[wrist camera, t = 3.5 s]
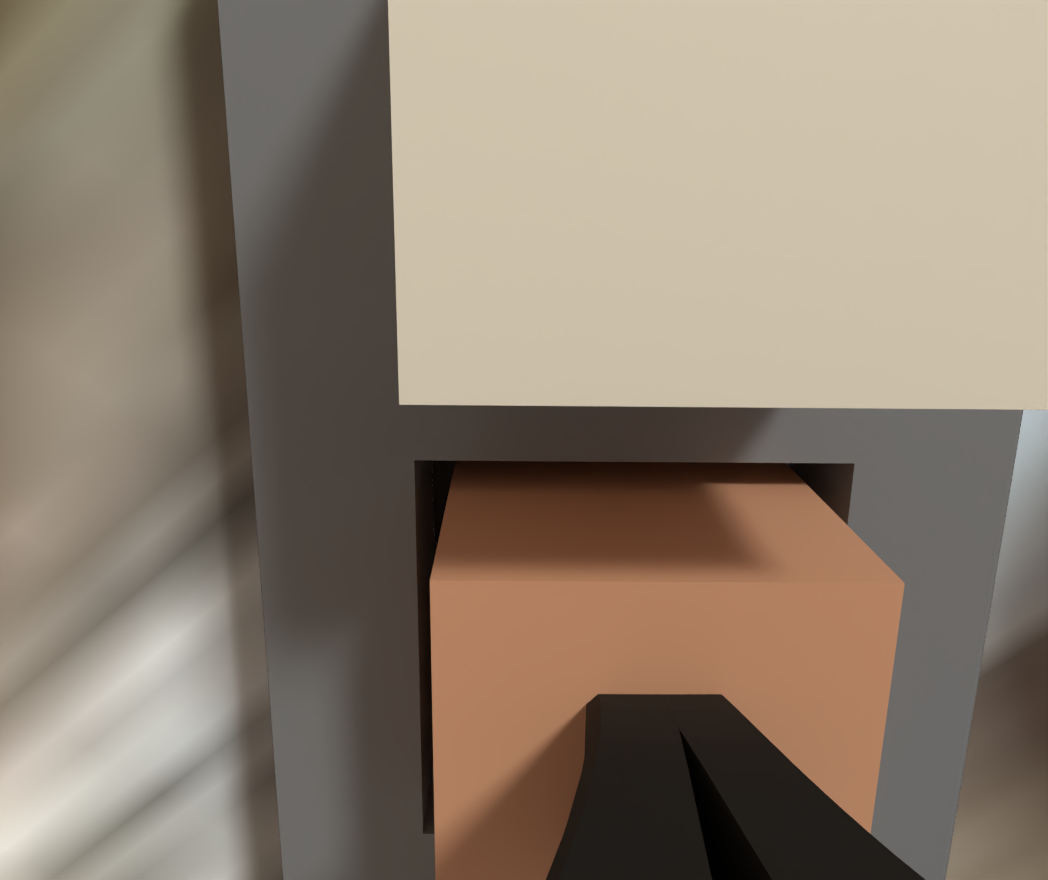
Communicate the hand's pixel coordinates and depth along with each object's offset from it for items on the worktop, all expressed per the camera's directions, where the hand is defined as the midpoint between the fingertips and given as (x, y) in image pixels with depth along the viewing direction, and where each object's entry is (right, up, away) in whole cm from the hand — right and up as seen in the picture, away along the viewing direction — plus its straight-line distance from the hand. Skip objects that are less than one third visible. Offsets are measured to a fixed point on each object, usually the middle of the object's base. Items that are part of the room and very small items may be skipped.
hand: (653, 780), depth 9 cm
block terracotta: (0, +1, +4) cm, 4 cm away
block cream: (0, +7, 0) cm, 7 cm away
